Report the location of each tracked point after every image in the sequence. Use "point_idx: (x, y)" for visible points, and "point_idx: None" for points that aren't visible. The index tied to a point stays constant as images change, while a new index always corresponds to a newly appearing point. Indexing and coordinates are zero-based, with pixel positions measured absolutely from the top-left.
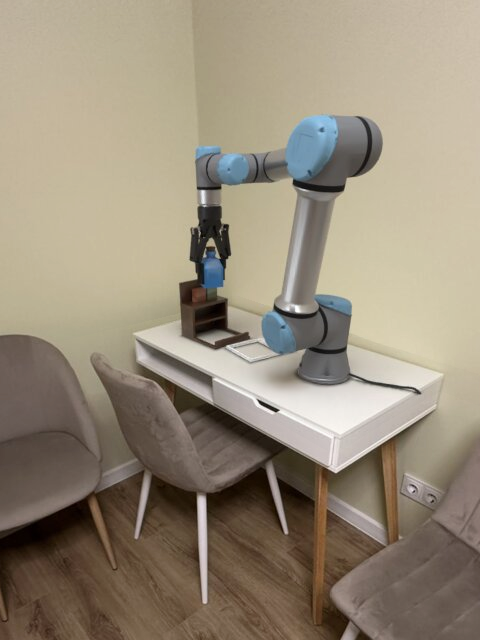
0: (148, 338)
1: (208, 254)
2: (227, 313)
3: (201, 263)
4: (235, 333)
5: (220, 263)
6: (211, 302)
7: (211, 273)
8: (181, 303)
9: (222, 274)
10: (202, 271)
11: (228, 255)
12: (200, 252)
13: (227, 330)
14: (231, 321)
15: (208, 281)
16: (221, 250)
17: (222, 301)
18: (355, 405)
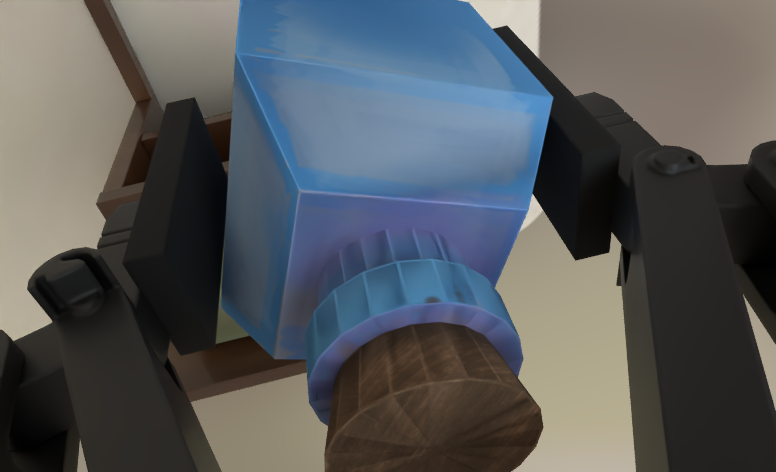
0: None
1: (493, 294)
2: (120, 147)
3: (614, 162)
4: (111, 8)
5: (275, 113)
6: None
7: (428, 52)
8: None
9: (252, 12)
10: (563, 91)
11: (10, 340)
12: (730, 283)
13: (145, 81)
14: (70, 215)
15: (448, 20)
16: (167, 390)
17: None
18: None
